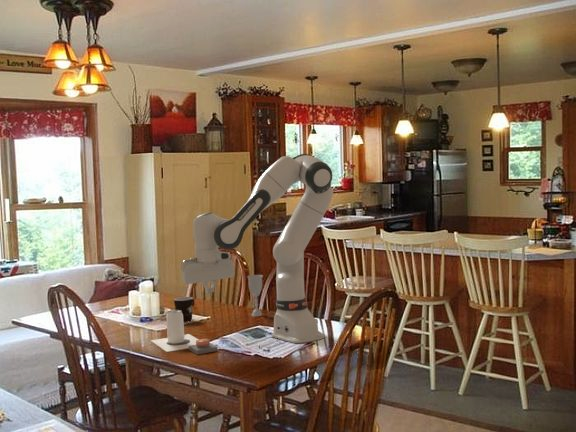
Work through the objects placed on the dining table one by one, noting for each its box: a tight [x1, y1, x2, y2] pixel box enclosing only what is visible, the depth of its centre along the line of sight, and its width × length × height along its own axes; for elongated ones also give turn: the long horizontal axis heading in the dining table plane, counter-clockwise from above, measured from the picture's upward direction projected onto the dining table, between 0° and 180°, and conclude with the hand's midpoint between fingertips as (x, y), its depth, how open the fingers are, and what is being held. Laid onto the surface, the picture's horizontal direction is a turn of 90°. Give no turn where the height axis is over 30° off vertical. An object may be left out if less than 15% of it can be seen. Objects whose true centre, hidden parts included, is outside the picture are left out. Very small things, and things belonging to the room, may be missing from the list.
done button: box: [196, 338, 211, 347], centre depth 234 cm, size 5×5×2 cm
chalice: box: [246, 274, 264, 317], centre depth 289 cm, size 7×7×18 cm
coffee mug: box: [173, 296, 195, 323], centre depth 286 cm, size 12×9×10 cm
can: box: [165, 309, 185, 344], centre depth 246 cm, size 6×6×12 cm
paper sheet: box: [150, 333, 199, 353], centre depth 246 cm, size 20×16×1 cm
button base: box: [188, 342, 218, 356], centre depth 234 cm, size 8×8×2 cm
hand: (210, 292), depth 239 cm, fingers closed
